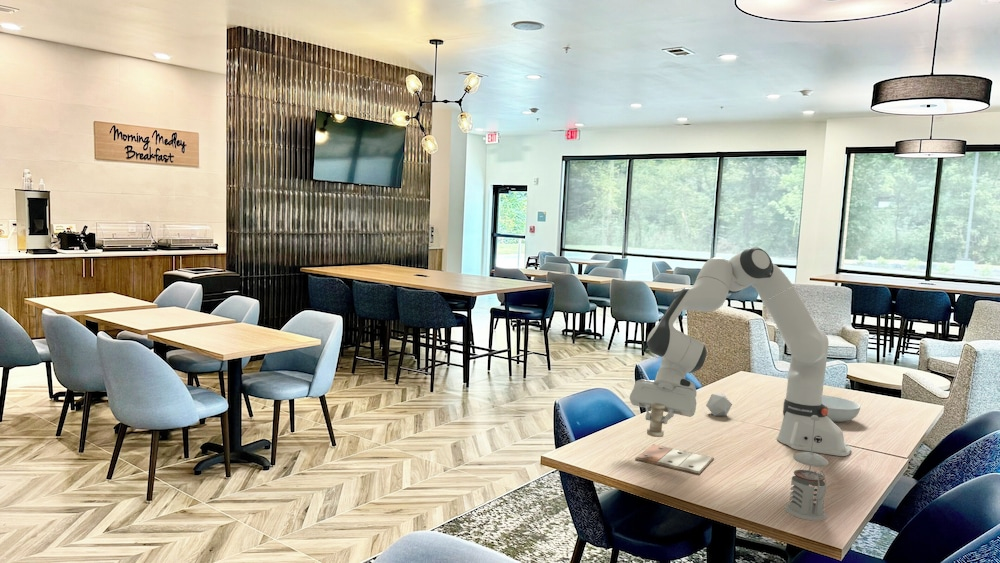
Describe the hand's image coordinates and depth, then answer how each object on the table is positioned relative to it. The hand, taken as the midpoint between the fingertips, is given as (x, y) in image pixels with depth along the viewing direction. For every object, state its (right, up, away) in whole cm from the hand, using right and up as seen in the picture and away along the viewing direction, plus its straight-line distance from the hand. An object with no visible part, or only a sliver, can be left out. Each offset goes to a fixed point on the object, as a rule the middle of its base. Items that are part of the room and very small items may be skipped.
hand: (655, 421), depth 209 cm
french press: (+29, -16, -37) cm, 50 cm away
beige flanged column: (0, -4, +1) cm, 4 cm away
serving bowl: (+80, -11, +57) cm, 99 cm away
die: (+36, -9, +53) cm, 65 cm away
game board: (+5, -11, -2) cm, 13 cm away
